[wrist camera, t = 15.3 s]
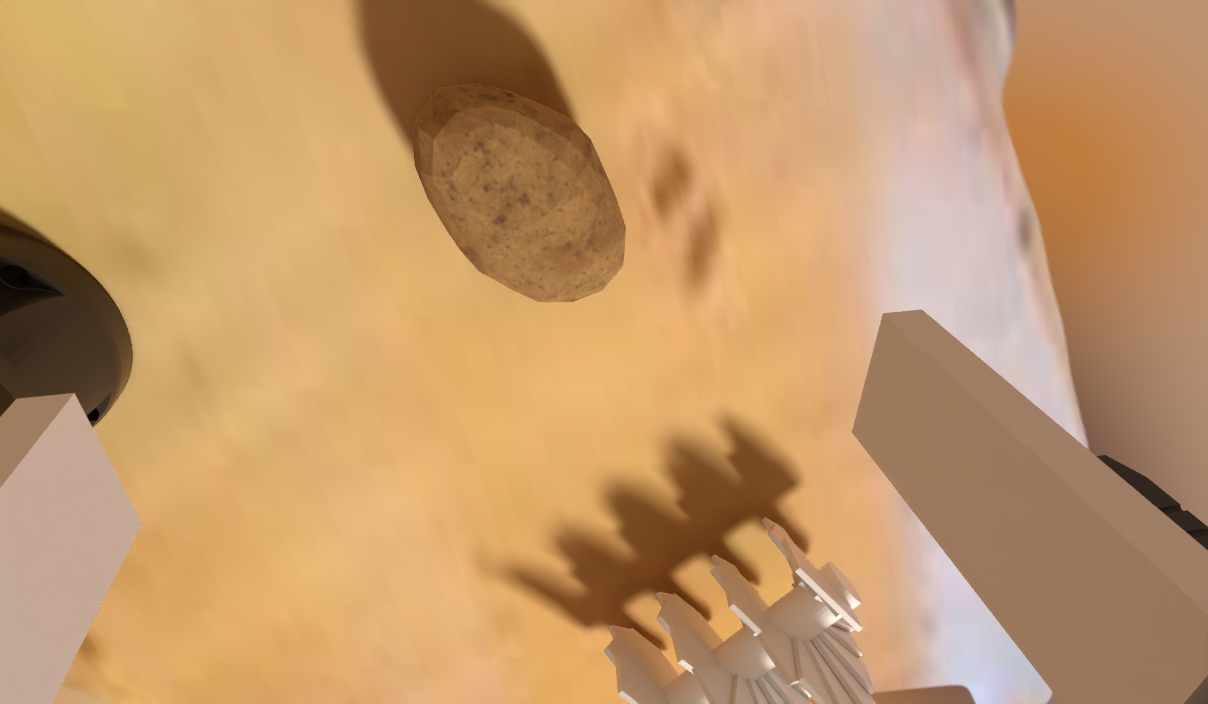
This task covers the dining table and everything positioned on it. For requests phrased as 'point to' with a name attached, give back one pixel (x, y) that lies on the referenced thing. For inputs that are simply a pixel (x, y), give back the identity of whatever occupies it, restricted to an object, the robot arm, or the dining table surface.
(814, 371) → the dining table surface
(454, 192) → the potato
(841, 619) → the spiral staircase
